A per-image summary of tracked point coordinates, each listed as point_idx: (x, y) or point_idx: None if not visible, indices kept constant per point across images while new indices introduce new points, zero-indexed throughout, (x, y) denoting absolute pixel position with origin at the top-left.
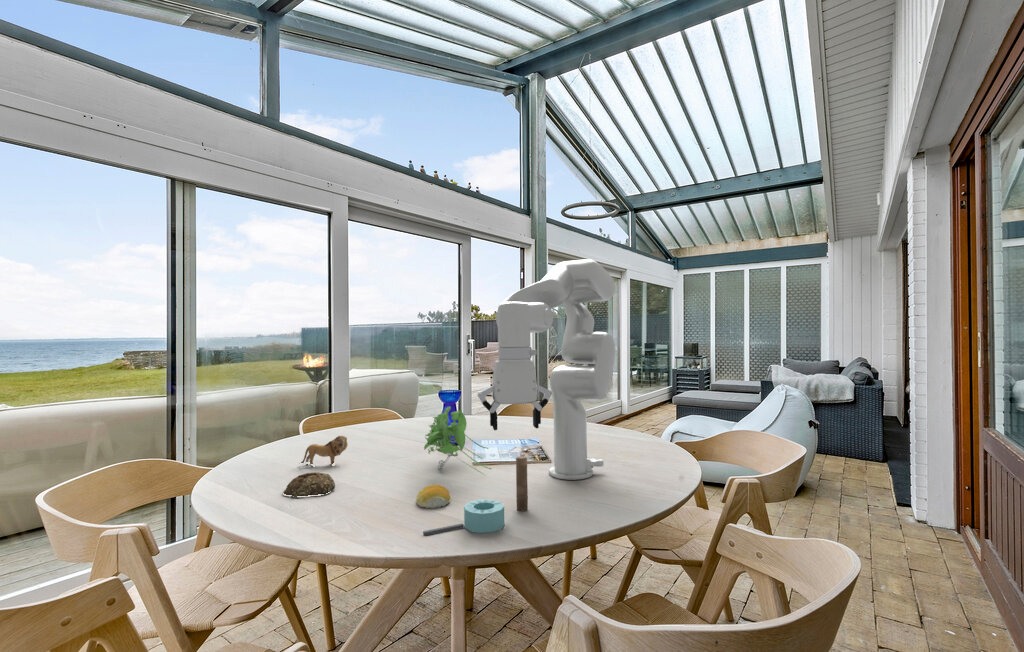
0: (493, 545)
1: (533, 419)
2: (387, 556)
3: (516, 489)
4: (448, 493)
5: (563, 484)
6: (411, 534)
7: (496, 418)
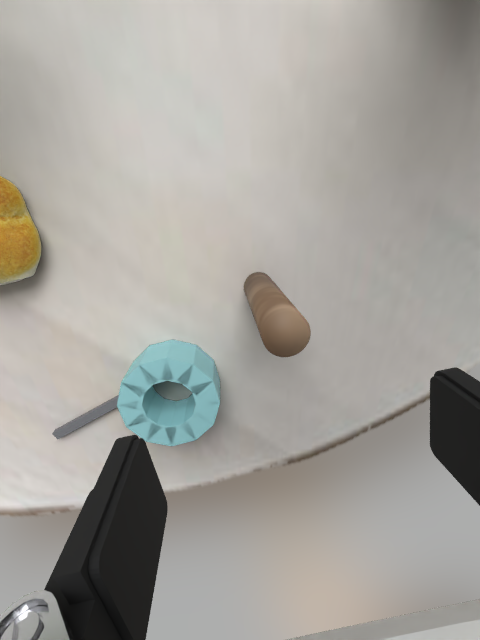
0: (207, 462)
1: (469, 423)
2: (30, 507)
3: (249, 303)
4: (22, 240)
5: (409, 35)
6: (30, 431)
7: (145, 598)
